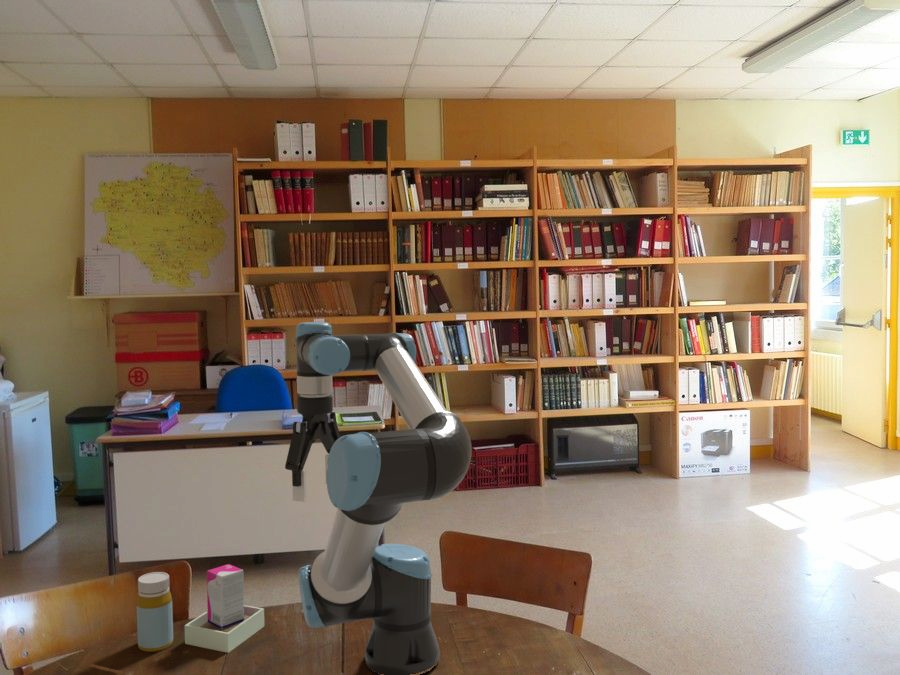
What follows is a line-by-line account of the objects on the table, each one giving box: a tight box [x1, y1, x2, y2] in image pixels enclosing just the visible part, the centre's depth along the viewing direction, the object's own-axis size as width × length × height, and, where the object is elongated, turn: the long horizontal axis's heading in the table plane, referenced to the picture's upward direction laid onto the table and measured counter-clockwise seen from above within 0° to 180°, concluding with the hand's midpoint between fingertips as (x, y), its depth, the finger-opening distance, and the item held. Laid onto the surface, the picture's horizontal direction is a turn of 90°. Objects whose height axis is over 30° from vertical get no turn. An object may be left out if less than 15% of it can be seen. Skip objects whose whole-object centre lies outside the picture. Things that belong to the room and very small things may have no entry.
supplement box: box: [206, 563, 245, 629], centre depth 170 cm, size 6×6×12 cm
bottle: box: [136, 571, 174, 653], centre depth 166 cm, size 7×7×15 cm
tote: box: [184, 604, 265, 653], centre depth 171 cm, size 11×13×4 cm
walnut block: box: [200, 615, 250, 633], centre depth 171 cm, size 7×8×3 cm
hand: (316, 492), depth 169 cm, fingers open, 13 cm apart
